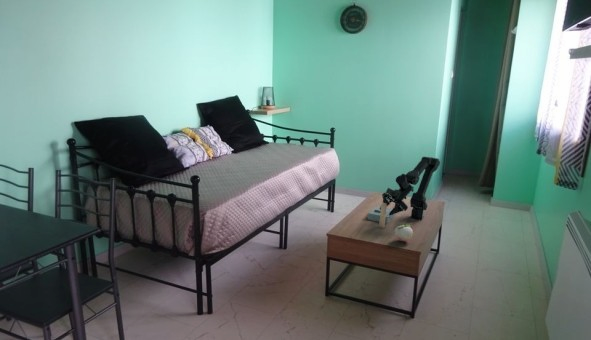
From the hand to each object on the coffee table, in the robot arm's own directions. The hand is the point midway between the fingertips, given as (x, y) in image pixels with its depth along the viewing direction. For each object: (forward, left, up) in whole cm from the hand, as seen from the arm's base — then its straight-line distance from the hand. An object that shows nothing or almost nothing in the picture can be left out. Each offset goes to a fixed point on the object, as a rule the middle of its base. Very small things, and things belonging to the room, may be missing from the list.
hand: (384, 212), depth 230 cm
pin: (+1, +1, -9) cm, 9 cm away
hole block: (+6, -14, -9) cm, 18 cm away
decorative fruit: (-15, +15, -9) cm, 23 cm away
